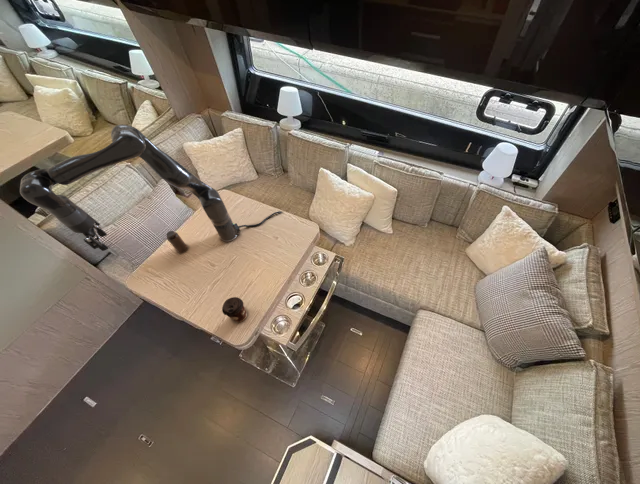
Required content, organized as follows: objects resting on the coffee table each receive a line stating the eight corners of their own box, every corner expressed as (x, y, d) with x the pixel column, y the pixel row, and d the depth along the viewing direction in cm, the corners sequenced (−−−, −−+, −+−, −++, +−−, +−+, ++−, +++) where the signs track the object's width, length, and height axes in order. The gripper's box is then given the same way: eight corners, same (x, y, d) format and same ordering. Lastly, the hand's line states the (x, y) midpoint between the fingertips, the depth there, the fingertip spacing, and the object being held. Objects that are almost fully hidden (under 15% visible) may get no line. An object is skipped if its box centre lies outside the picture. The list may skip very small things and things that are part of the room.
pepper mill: (186, 243, 152) (174, 228, 142) (188, 250, 150) (177, 234, 139) (176, 247, 150) (163, 232, 140) (178, 254, 148) (165, 239, 137)
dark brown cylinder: (238, 328, 124) (230, 318, 114) (226, 318, 127) (216, 307, 117) (253, 312, 129) (245, 301, 119) (240, 303, 132) (232, 291, 122)
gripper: (87, 226, 103) (116, 249, 115) (86, 202, 110) (113, 227, 123) (63, 235, 100) (95, 258, 113) (63, 210, 108) (94, 235, 120)
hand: (105, 242), depth 118 cm, fingers open, 8 cm apart
